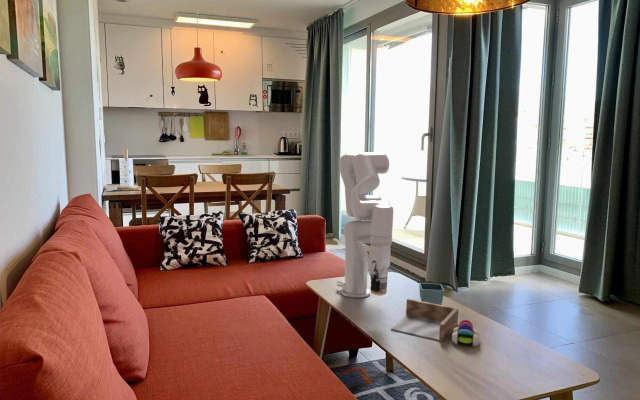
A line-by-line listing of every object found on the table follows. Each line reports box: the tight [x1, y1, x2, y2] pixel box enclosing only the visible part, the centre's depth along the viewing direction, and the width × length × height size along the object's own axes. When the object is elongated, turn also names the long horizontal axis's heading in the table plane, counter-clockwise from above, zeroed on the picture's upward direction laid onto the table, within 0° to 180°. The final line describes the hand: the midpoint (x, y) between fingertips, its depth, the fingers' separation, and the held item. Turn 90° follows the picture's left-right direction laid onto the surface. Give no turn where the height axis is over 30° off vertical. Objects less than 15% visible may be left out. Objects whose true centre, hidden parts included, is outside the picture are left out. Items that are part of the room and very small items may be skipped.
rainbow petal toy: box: [451, 319, 480, 348], centre depth 163 cm, size 8×10×7 cm
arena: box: [390, 298, 459, 343], centre depth 175 cm, size 19×19×6 cm
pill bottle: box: [370, 268, 388, 296], centre depth 177 cm, size 6×6×10 cm
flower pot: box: [418, 282, 445, 305], centre depth 194 cm, size 9×9×9 cm
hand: (378, 287), depth 177 cm, fingers closed on pill bottle, 5 cm apart
